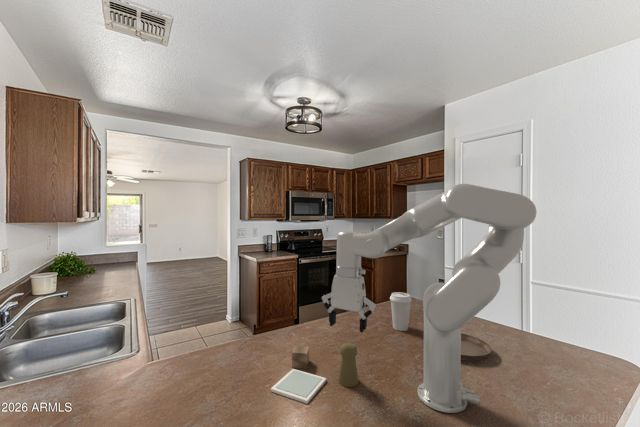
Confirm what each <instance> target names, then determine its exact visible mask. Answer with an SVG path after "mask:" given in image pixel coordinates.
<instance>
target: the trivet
mask: <svg viewBox="0 0 640 427" xmlns="http://www.w3.org/2000/svg"><path fill="white" fill-rule="evenodd" d="M326 382H327V378H326V377H323V376H320V375H316V374H313V373H310V372H306V371H302V370H299V369H297V368H296V369H295V368H292V369H291V370H290V371H289V372H287V373H286V374H285V375H284V376H282V378H281V379H280V380H279V381H277V382H276V383H275V384H274V385H273V386H272V387H271V388H270V392H272V393H275V394H278V395H280V396H284V397H287V398H289V399H292V400H295V401H297V402H301V403H304V404H305V405H306V404H308V403H309V402H310V401H311V400H312V399H313V398H314V396H315V395H316V394H317V393H318V392H319V390H320V389H321V388H322V387H323V386H324V384H326Z"/></svg>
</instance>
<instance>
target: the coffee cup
mask: <svg viewBox="0 0 640 427" xmlns="http://www.w3.org/2000/svg"><path fill="white" fill-rule="evenodd" d="M389 300H390V305H391V307H390V308H391V317H392V318H391V319H392V329H393V330H395V331H398V330H399V331H398V332H406V331H408V330H409V322H410V311H411V304H412V297H411V294H409V293H407V292H400V291H398V292H397V291H395V292H391V295H390V297H389Z"/></svg>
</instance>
